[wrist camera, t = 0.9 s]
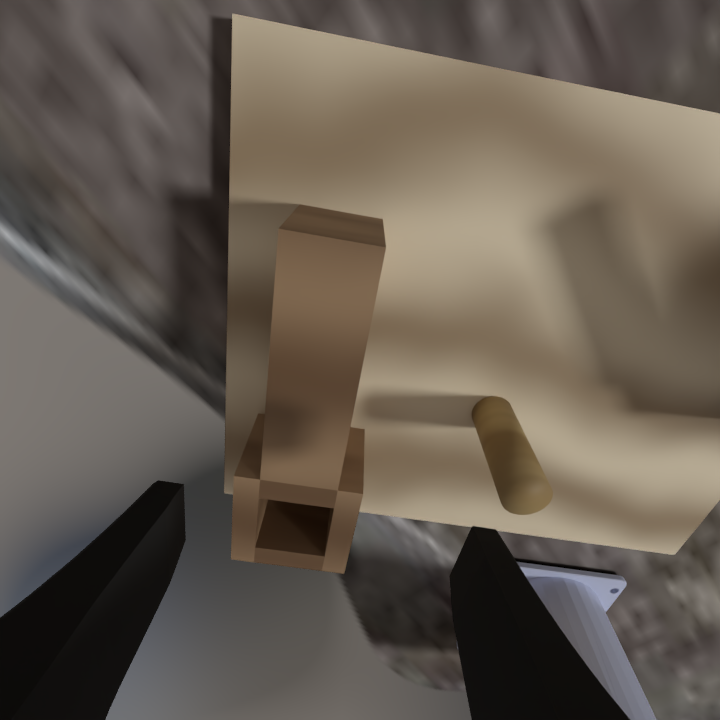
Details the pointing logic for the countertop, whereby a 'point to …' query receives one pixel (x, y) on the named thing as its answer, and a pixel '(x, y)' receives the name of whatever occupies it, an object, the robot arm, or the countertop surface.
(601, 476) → the board
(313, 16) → the countertop surface
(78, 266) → the countertop surface
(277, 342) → the link
